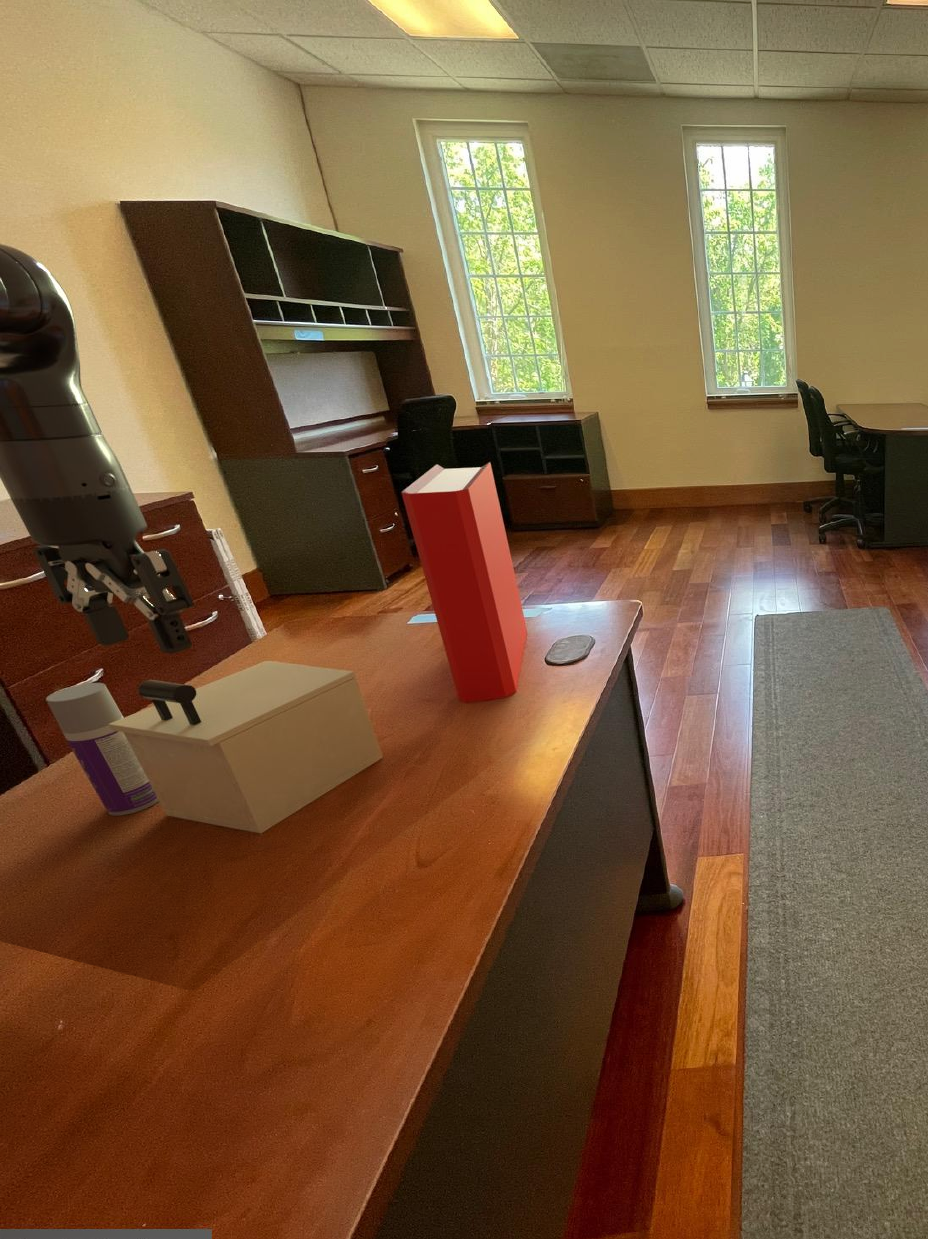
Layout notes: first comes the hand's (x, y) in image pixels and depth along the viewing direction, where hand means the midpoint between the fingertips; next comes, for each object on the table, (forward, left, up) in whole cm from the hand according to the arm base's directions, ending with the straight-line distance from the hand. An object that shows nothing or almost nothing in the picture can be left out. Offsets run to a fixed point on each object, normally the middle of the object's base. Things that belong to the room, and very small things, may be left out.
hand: (146, 646), depth 68 cm
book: (+1, +42, -22) cm, 48 cm away
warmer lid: (0, +6, -10) cm, 11 cm away
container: (-13, -1, -22) cm, 25 cm away
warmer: (0, +6, -22) cm, 22 cm away
